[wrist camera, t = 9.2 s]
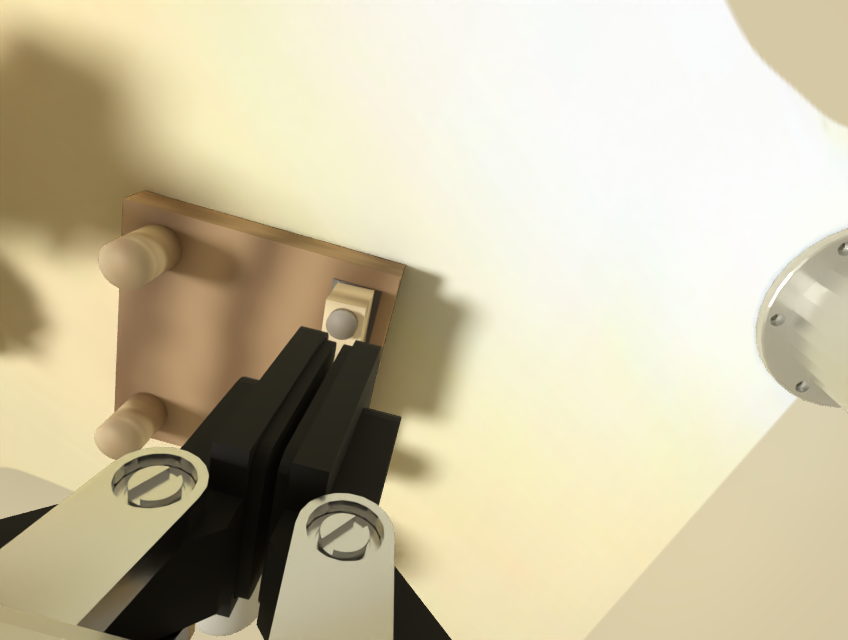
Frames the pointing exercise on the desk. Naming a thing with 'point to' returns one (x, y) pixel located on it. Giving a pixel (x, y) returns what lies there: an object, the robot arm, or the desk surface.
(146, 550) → the robot arm
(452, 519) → the desk surface
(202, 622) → the lightbulb
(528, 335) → the desk surface
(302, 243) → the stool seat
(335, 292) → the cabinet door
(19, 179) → the desk surface
